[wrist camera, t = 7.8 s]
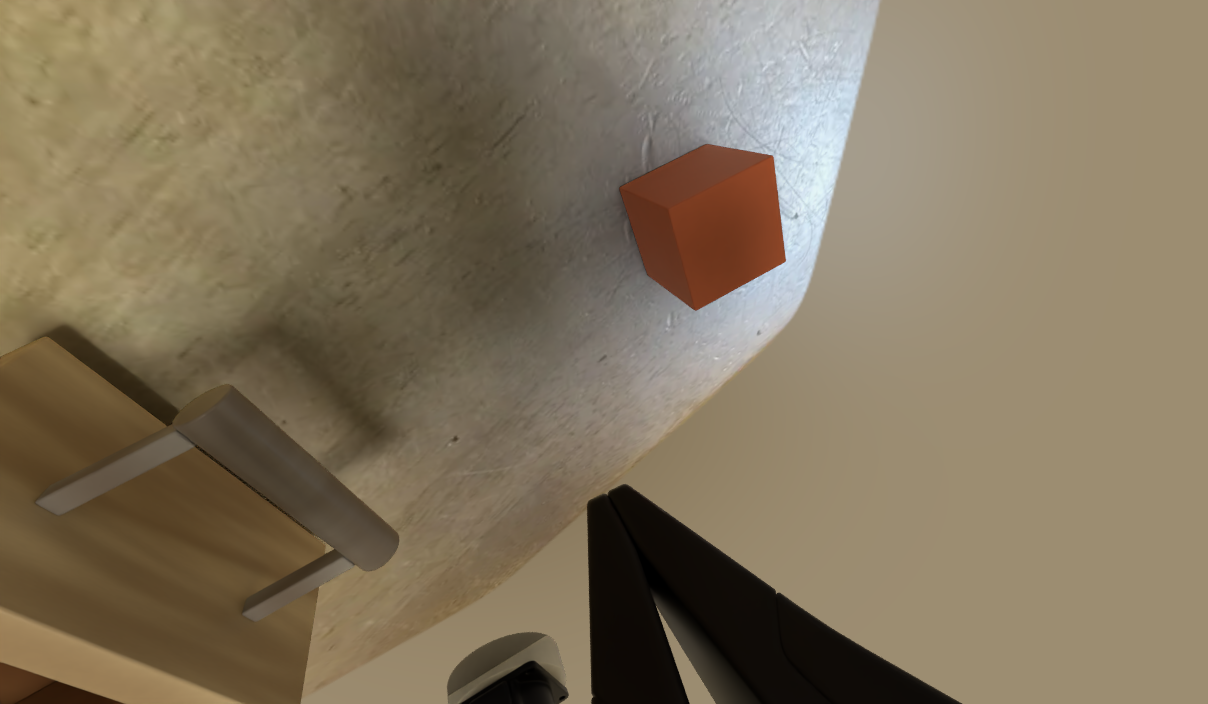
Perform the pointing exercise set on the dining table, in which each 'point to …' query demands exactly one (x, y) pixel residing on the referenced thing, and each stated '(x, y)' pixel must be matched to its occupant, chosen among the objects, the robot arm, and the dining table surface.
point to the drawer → (159, 544)
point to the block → (707, 222)
